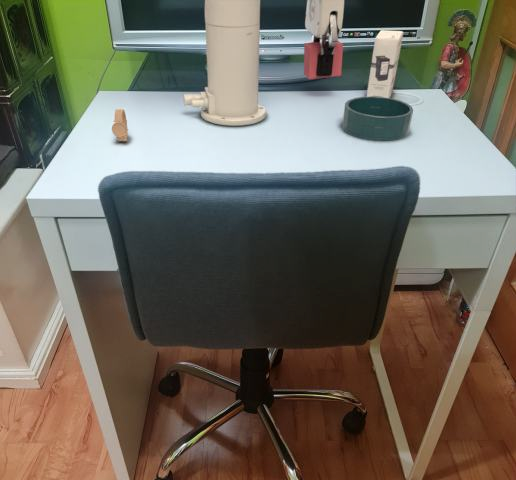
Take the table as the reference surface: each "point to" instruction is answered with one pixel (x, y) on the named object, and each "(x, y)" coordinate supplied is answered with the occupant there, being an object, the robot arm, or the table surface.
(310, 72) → the eraser
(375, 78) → the ink box
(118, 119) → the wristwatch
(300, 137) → the table surface
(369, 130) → the bowl
